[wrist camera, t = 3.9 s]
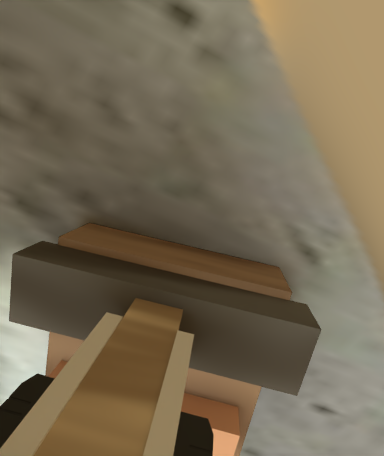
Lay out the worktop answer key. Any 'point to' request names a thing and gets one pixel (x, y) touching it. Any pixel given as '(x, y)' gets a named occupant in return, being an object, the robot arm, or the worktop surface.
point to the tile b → (216, 422)
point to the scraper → (150, 339)
